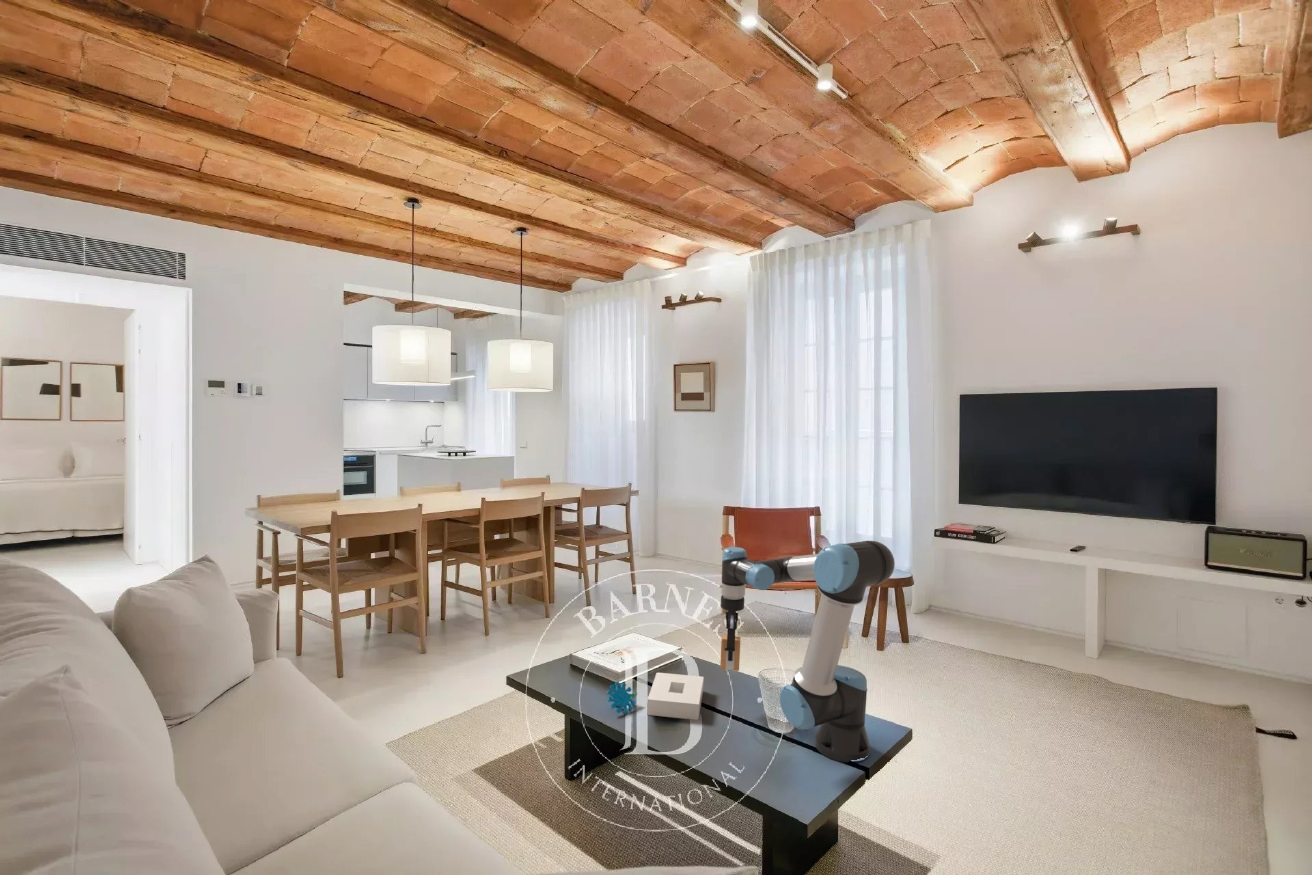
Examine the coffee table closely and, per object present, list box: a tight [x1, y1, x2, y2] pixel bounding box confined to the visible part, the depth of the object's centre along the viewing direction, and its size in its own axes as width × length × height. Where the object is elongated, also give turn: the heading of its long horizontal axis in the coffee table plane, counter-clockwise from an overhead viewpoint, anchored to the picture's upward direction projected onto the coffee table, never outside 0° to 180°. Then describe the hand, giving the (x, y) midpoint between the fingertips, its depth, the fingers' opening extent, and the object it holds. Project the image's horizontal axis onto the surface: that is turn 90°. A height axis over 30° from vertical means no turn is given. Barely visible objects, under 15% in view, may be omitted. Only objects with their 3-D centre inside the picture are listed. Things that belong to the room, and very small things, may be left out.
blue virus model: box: [606, 681, 638, 714], centre depth 212 cm, size 11×6×10 cm
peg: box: [719, 635, 741, 672], centre depth 215 cm, size 3×6×10 cm, turn 83°
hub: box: [646, 672, 705, 721], centre depth 216 cm, size 20×16×5 cm
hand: (729, 666), depth 215 cm, fingers closed on peg, 3 cm apart
